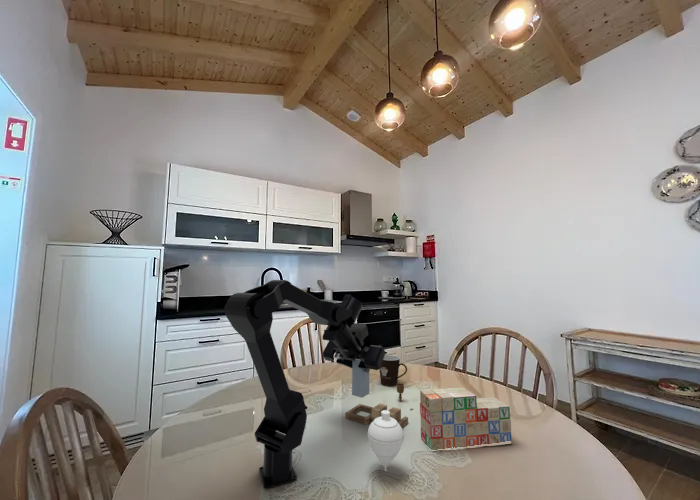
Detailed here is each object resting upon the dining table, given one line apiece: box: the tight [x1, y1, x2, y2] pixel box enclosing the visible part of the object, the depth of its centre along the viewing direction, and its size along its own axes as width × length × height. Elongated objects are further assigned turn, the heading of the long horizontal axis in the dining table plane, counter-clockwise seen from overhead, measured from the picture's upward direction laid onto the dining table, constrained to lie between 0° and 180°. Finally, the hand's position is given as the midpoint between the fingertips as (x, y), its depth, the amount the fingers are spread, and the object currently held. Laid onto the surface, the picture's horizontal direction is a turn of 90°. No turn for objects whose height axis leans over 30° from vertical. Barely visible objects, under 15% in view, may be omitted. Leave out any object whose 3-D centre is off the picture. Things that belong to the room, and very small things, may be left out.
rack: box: [344, 403, 409, 429], centre depth 86 cm, size 8×16×2 cm, turn 56°
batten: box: [351, 359, 370, 398], centre depth 89 cm, size 4×4×12 cm
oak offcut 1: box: [370, 402, 388, 424], centre depth 86 cm, size 5×2×4 cm, turn 146°
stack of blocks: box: [419, 387, 512, 450], centre depth 76 cm, size 21×6×12 cm, turn 99°
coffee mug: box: [378, 354, 408, 388], centre depth 117 cm, size 12×9×10 cm
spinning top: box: [367, 409, 405, 472], centre depth 64 cm, size 8×8×12 cm
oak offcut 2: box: [388, 406, 402, 422], centre depth 84 cm, size 5×2×4 cm, turn 146°
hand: (363, 370), depth 90 cm, fingers closed on batten, 3 cm apart
